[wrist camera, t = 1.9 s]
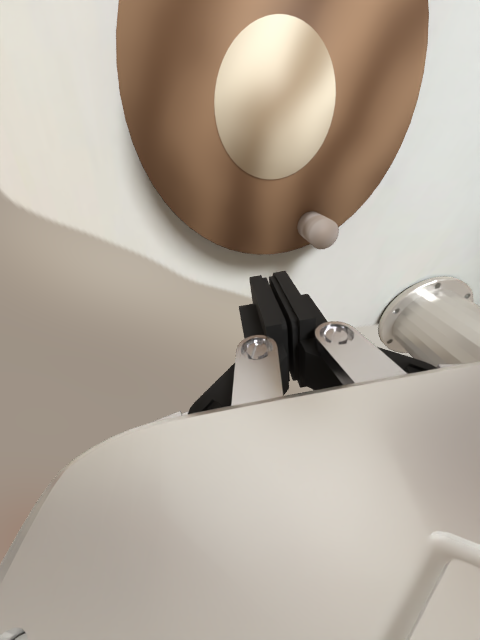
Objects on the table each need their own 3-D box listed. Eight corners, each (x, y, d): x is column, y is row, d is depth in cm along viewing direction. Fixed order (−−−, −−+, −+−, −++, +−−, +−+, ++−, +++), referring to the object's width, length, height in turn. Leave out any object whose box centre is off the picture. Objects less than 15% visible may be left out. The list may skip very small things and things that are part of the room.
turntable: (475, -15, 16) (578, -84, 12) (319, 272, 27) (340, 294, 23) (143, -291, 11) (90, -631, 6) (117, 208, 22) (91, 221, 17)
